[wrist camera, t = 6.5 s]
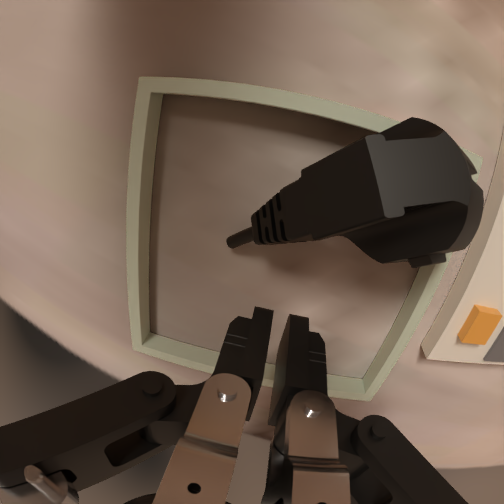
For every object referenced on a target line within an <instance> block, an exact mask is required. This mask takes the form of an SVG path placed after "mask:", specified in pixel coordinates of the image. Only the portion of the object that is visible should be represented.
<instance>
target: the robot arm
mask: <svg viewBox="0 0 504 504" xmlns="http://www.w3.org/2000/svg"><path fill="white" fill-rule="evenodd" d="M273 312H274V310H269V309H265V308H260V307H256V306H255V308H254V313H253V317H252V319H249V318H245V317H240V316H238V317H237V318H235V319H234V320H233V321H232V322H231V323H230V325H229V328H228V331H227V334H226V336H225V339H224V343H223V345H222V348H221V351H220V354H219V357H218V360H217V363H216V366H215V369H214V372H213V374H212V375H211V377H210V378H209V379H207V380H206V381H204V382H202V383H200V384H196V385H175V384H174V382H173V381H172V380H171V379H170V378H169V377H168V376H166V375H165V374H163V373H160V372H155V371H146V372H142V373H139V374H137V375H135V376H132V377H130V378H128V379H126V380H123V381H121V382H119V383H116V384H114V385H112V386H109V387H107V388H104V389H102V390H100V391H97V392H95V393H92V394H90V395H87V396H85V397H82V398H80V399H77V400H74V401H72V402H69V403H67V404H64V405H61V406H59V407H56V408H53V409H51V410H48V411H46V412H42V413H40V414H37V415H34V416H31V417H28V418H25V419H23V420H20V421H17V422H14V423H11V424H8V425H5V426H1V427H0V501H1V503H2V504H79V495H78V491H80V490H83V489H85V488H88V487H90V486H92V485H95V484H97V483H99V482H101V481H104V480H106V479H108V478H110V477H112V476H114V475H116V474H119V473H121V472H123V471H125V470H127V469H129V468H131V467H133V466H135V465H137V464H139V463H141V462H143V461H145V460H147V459H148V458H150V457H152V456H154V455H156V454H158V453H160V452H161V451H163V450H165V449H167V448H169V447H170V446H171V445H173V444H174V445H176V447H175V449H174V452H173V454H172V457H171V459H170V461H169V464H168V466H167V469H166V471H165V474H164V476H163V479H162V481H161V484H160V486H159V488H158V491H157V493H154V494H148V495H144V496H141V497H138V498H135V499H132V500H130V501H128V502H126V503H124V504H231V503H228V502H226V498H227V494H228V490H229V486H230V482H231V479H232V475H233V471H234V467H235V463H236V459H237V454H238V447H239V443H240V439H241V435H242V431H243V427H244V424H245V421H249V420H250V417H251V414H252V411H253V408H254V406H255V403H256V400H257V397H258V394H259V391H260V388H261V385H262V382H263V376H264V370H265V364H266V358H267V351H268V345H269V339H270V332H271V325H272V319H273ZM268 425H271V426H275V433H274V437H273V439H272V441H271V444H270V452H269V461H268V470H267V479H266V487H265V492H264V495H263V497H262V501H261V504H468V503H467V502H466V501H465V500H464V499H463V498H462V497H461V496H460V494H458V492H457V491H456V490H455V489H454V488H453V487H452V486H451V485H450V484H449V483H448V482H447V481H446V480H445V479H444V478H443V477H442V476H441V475H440V474H439V473H438V471H437V470H436V469H435V468H434V467H433V466H432V465H431V464H430V463H429V462H428V461H427V460H426V459H425V458H424V457H423V455H422V454H421V453H420V452H419V451H418V450H417V449H416V448H415V447H414V446H413V445H412V444H411V443H410V442H409V441H408V440H407V438H406V437H405V436H404V435H403V434H402V433H401V432H400V431H399V430H398V429H397V428H396V427H395V426H394V424H393V423H392V422H391V421H389V420H388V419H387V418H385V417H382V416H379V415H370V416H367V417H365V418H363V419H362V420H361V421H359V420H357V419H354V418H351V417H349V416H346V415H344V414H342V413H340V412H339V411H338V410H336V409H335V406H334V403H333V402H332V400H331V399H330V398H329V397H328V389H327V369H326V355H325V343H324V341H323V339H322V337H321V336H320V334H319V333H316V332H310V331H309V318H307V317H302V316H297V315H293V314H289V316H288V319H287V323H286V326H285V329H284V332H283V335H282V338H281V341H280V345H279V348H278V353H277V359H276V367H275V375H274V383H273V390H272V398H271V405H270V413H269V420H268Z"/></svg>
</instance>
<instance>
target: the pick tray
mask: <svg viewBox="0 0 504 504" xmlns="http://www.w3.org/2000/svg"><path fill="white" fill-rule="evenodd" d="M163 94H173V95H187V96H198V97H208V98H217V99H225V100H233V101H240V102H247V103H253V104H259V105H265V106H270V107H276V108H281V109H286V110H291V111H296V112H300V113H305V114H309V115H314V116H318V117H322V118H326V119H330V120H334V121H338V122H341V123H345V124H349V125H352V126H356V127H359V128H363V129H366V130H369V131H372V132H376V133H380V132H382V131H384V130H386V129H388V128H390V127H392V126H394V125H396V124H398V123H401V122H399V121H396V120H393V119H391V118H388V117H385V116H382V115H379V114H376V113H372V112H369V111H366V110H363V109H359V108H356V107H353V106H349V105H345V104H342V103H338V102H334V101H330V100H326V99H322V98H318V97H314V96H309V95H305V94H300V93H295V92H291V91H285V90H280V89H275V88H269V87H263V86H256V85H250V84H243V83H235V82H227V81H217V80H207V79H194V78H177V77H139V81H138V88H137V94H136V101H135V108H134V116H133V124H132V133H131V143H130V155H129V168H128V185H127V211H126V260H127V287H128V303H129V317H130V328H131V338H132V348H133V350H135V351H138V352H141V353H144V354H147V355H150V356H153V357H156V358H159V359H162V360H165V361H168V362H172V363H175V364H178V365H182V366H185V367H188V368H192V369H196V370H199V371H203V372H207V373H210V374H213V372H214V369H215V366H216V363H217V360H218V357H219V354H220V352H217V351H213V350H209V349H205V348H201V347H198V346H194V345H191V344H187V343H183V342H180V341H177V340H173V339H170V338H166V337H163V336H160V335H157V334H153V333H150V316H149V242H150V218H151V200H152V186H153V174H154V163H155V153H156V144H157V136H158V128H159V120H160V113H161V106H162V99H163ZM459 147H460V146H459ZM460 148H461V149H462V150H463V152H464V153H465V154H466V155H467V156H468V158H469V159H470V160H471V162H472V163H473V165H474V167H475V168H476V170H477V174H474V175H471V176H472V179H473V180H474V182H475V183H477V180H478V176H479V172H480V169H481V165H482V161H483V158H482V157H480V156H478V155H476V154H474V153H472V152H470V151H468V150H466V149H464V148H462V147H460ZM452 253H453V252H450V253H446V254H445V255H446V262H445V263H440V264H435V265H429V266H423V267H420V268H419V271H418V273H417V275H416V278H415V280H414V282H413V285H412V287H411V289H410V291H409V293H408V296H407V298H406V300H405V302H404V304H403V306H402V308H401V310H400V312H399V314H398V316H397V318H396V320H395V322H394V324H393V326H392V328H391V330H390V332H389V334H388V336H387V337H386V339H385V341H384V343H383V345H382V347H381V348H380V350H379V352H378V354H377V355H376V357H375V359H374V361H373V362H372V364H371V366H370V367H369V369H368V371H367V372H366V374H365V376H364V377H363V379H359V378H351V377H344V376H337V375H330V374H327V389H328V397H334V398H342V399H351V400H360V401H371V399H372V398H373V397H374V395H375V394H376V392H377V391H378V389H379V388H380V386H381V385H382V384H383V382H384V381H385V379H386V378H387V376H388V375H389V373H390V371H391V370H392V368H393V367H394V365H395V364H396V362H397V360H398V359H399V357H400V356H401V354H402V352H403V351H404V349H405V347H406V346H407V344H408V342H409V340H410V339H411V337H412V335H413V333H414V332H415V330H416V328H417V326H418V324H419V323H420V321H421V319H422V317H423V315H424V313H425V311H426V309H427V307H428V305H429V303H430V301H431V299H432V297H433V295H434V293H435V291H436V289H437V287H438V285H439V283H440V281H441V278H442V276H443V274H444V272H445V269H446V267H447V265H448V262H449V260H450V258H451V255H452ZM275 367H276V365H274V364H269V363H266V364H265V370H264V376H263V382H262V386H267V387H272V388H273V383H274V375H275Z"/></svg>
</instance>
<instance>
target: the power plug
mask: <svg viewBox="0 0 504 504" xmlns="http://www.w3.org/2000/svg"><path fill="white" fill-rule="evenodd" d="M474 174H477V170H476V168H475V167H474V165H473V163H472V162H471V160H470V159H469V158H468V156H467V155H466V154H465V153H464V152H463V150H462V149H461V148H460V147H459V146H458V145H457V144H456V142H455V141H454V140H453V139H452V138H451V137H450V136H449V135H448V134H447V133H446V132H445V131H444V130H443V129H442V128H440V127H439V126H437V125H435V124H433V123H431V122H429V121H426V120H423V119H419V118H414V117H411V118H409V119H407V120H405V121H403V122H401V123H398V124H396V125H394V126H392V127H390V128H388V129H386V130H384V131H382V132H380V133H378V134H376V135H368V136H366V137H364V138H362V139H360V140H358V141H356V142H354V143H352V144H350V145H348V146H346V147H344V148H342V149H340V150H339V151H337V152H335V153H333V154H331V155H329V156H327V157H325V158H323V159H322V160H320V161H318V162H316V163H314V164H312V165H310V166H308V167H306V168H304V169H302V170H301V177H300V178H299V180H297V181H295V182H293V183H291V184H289V185H287V186H286V187H284V188H283V189H281V190H280V192H279V193H277V194H276V195H274V196H273V198H272V199H270V200H269V201H268V202H266V204H265V205H263V206H262V207H261V208H260V209H259V210H257V211H256V212H255V213H254V214H253V215H252V216H251V222H252V227H250V228H247V229H245V230H243V231H241V232H238V233H236V234H234V235H232V236H229V237H228V238H227V241H226V242H227V245H228V247H230V248H235V247H238V246H241V245H243V244H246V243H249V242H251V241H254V242H255V244H258V245H274V244H285V243H296V242H306V241H317V240H323V239H326V238H330V237H333V236H344V237H347V238H348V239H350V240H351V241H352V242H353V243H354V244H355V245H357V246H358V247H359V248H360V249H361V250H362V251H363V252H365V253H366V254H367V255H369V256H370V257H371V258H373V259H375V260H376V261H378V262H380V263H382V264H383V263H394V262H406V261H409V263H410V265H411V267H412V268H416V267H423V266H429V265H435V264H440V263H445V262H446V255H445V254H446V253H450V252H455V251H459V250H463V249H465V248H466V247H467V246H468V245H469V244H470V242H471V241H472V239H473V238H474V236H475V234H476V232H477V230H478V228H479V225H480V222H481V218H482V213H483V202H484V198H483V190H482V189H481V188H480V187H479V186H478V185H477V184H476V183H475V182H474V180H473V179H472V176H471V175H474Z"/></svg>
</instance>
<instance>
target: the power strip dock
mask: <svg viewBox="0 0 504 504" xmlns="http://www.w3.org/2000/svg"><path fill="white" fill-rule="evenodd" d="M421 347H422V349H423V351H424V354H425V356H426V359H431V360H441V361H452V362H465V363H480V364H500V365H504V129H503V135H502V140H501V145H500V150H499V154H498V159H497V163H496V167H495V171H494V175H493V178H492V182H491V186H490V189H489V193H488V196H487V199H486V202H485V206H484V209H483V213H482V218H481V222H480V225H479V228H478V230H477V232H476V234H475V236H474V238H473V240H472V242H471V245H470V247H469V250H468V252H467V255H466V257H465V259H464V262H463V264H462V266H461V269H460V271H459V273H458V275H457V277H456V280H455V282H454V284H453V286H452V288H451V290H450V292H449V294H448V296H447V298H446V300H445V302H444V304H443V306H442V308H441V310H440V312H439V314H438V315H437V317H436V319H435V321H434V323H433V325H432V326H431V328H430V330H429V332H428V333H427V335H426V337H425V339H424V340H423V342H422V344H421Z"/></svg>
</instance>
